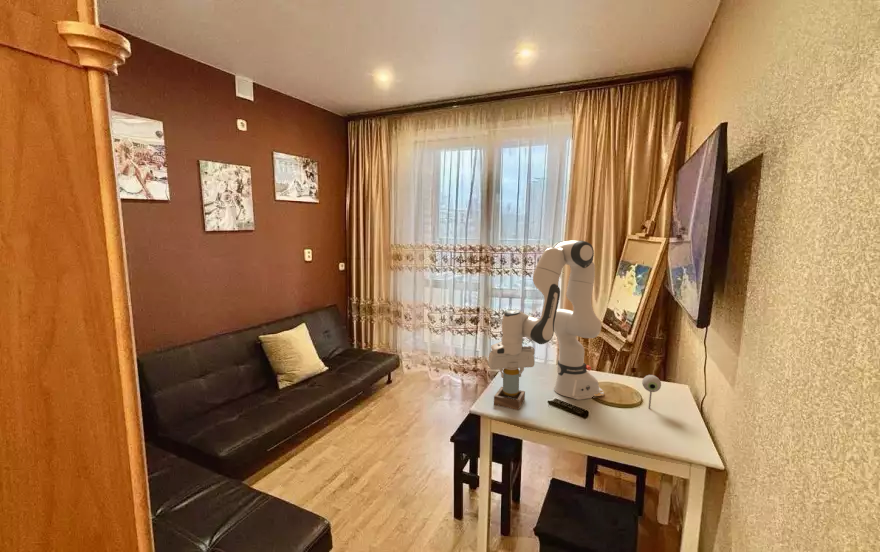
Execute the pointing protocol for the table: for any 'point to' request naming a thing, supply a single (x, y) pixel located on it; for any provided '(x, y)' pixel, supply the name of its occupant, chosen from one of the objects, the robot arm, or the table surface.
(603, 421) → the table surface
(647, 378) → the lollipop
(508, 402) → the pocket
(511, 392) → the bottle
